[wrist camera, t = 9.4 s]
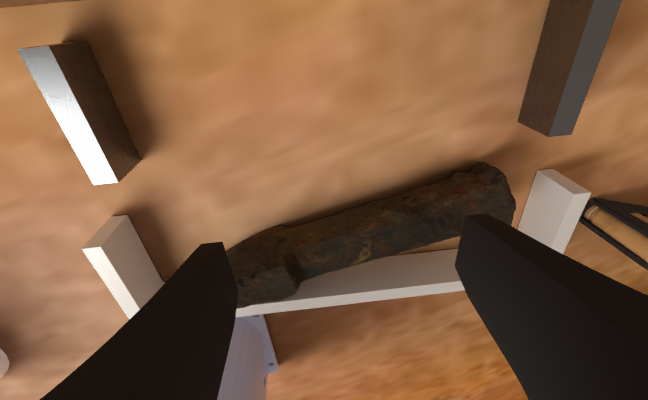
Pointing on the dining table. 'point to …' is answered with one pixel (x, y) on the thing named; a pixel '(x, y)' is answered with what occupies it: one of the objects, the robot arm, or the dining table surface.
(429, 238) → the hand tool
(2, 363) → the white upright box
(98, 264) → the white u-shaped bracket
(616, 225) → the ammunition clip
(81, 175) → the dining table surface
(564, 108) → the tool holder
